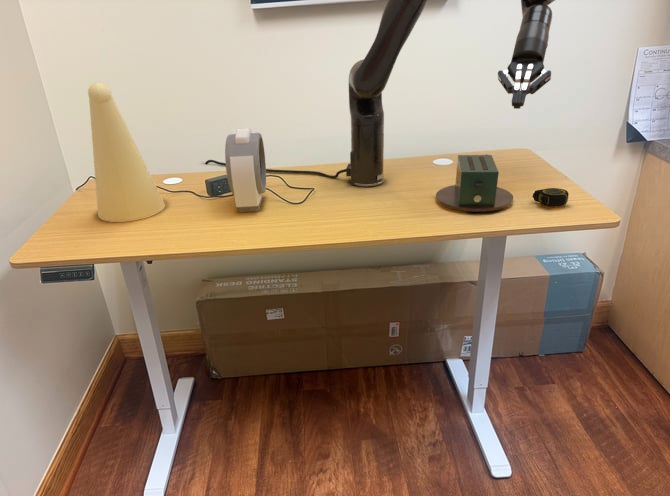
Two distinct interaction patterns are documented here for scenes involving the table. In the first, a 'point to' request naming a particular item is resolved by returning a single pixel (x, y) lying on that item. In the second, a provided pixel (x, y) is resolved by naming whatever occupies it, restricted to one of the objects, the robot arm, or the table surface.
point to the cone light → (118, 164)
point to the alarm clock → (246, 168)
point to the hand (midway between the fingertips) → (516, 106)
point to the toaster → (475, 186)
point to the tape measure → (551, 197)
